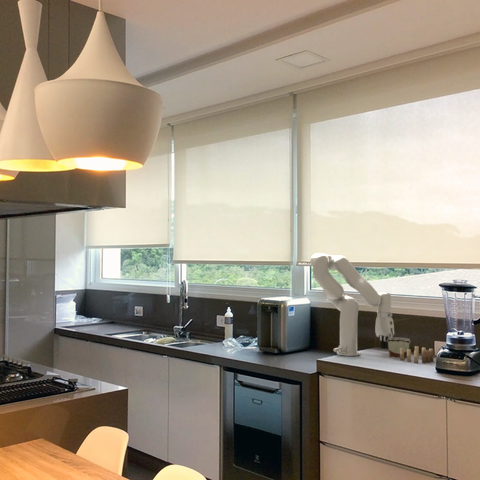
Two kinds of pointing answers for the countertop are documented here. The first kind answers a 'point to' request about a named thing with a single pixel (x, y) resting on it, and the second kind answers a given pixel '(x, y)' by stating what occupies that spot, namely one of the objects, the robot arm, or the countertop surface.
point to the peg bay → (426, 355)
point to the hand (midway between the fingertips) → (384, 348)
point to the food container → (398, 346)
